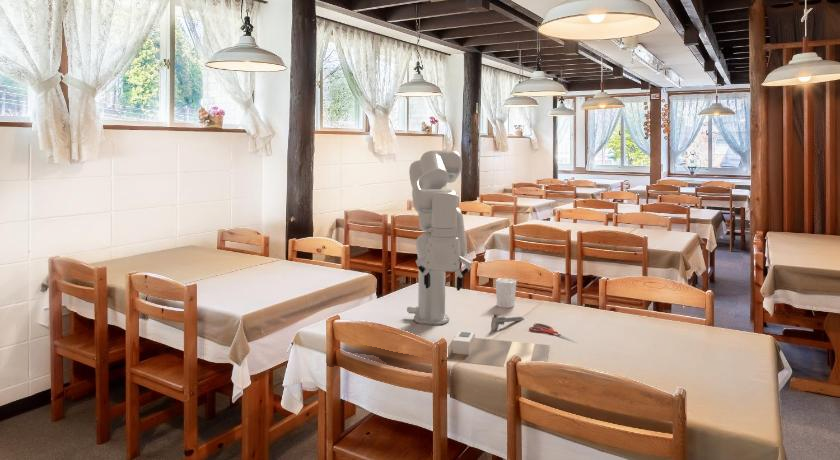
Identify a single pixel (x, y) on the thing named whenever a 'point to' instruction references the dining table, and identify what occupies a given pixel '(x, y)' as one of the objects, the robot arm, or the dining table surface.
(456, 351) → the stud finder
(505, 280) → the white cup
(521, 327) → the dining table surface
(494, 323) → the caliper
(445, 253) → the robot arm
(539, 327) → the scissors
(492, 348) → the subfloor panel
